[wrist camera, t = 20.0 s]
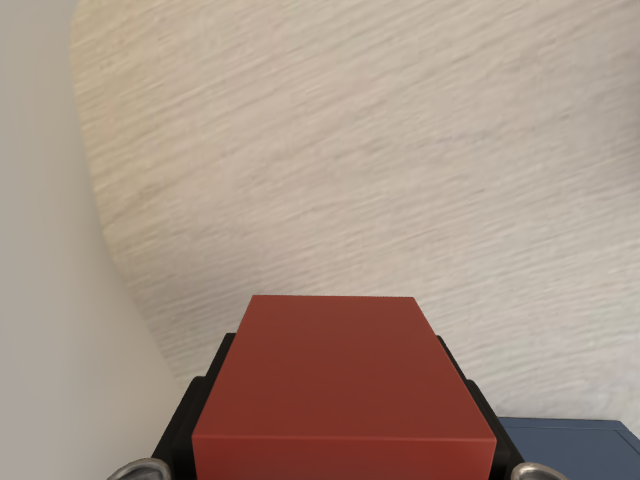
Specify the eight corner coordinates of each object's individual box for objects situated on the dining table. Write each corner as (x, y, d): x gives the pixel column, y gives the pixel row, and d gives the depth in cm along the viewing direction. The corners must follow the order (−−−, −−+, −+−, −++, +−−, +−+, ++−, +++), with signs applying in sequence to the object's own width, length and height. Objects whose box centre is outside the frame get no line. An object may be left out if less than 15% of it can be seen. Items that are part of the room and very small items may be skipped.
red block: (259, 421, 11) (216, 622, 7) (252, 294, 10) (189, 437, 5) (399, 422, 11) (456, 624, 7) (413, 296, 10) (499, 439, 5)
